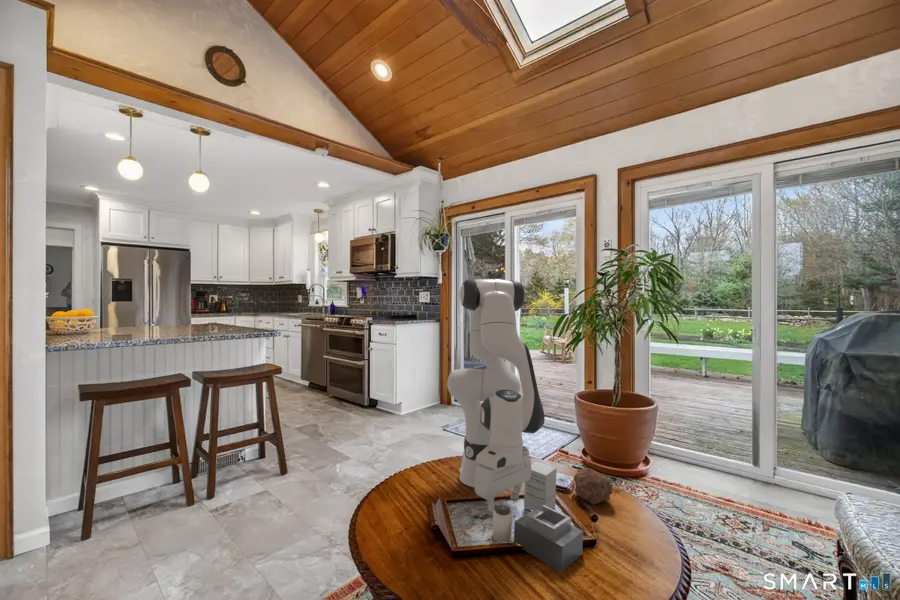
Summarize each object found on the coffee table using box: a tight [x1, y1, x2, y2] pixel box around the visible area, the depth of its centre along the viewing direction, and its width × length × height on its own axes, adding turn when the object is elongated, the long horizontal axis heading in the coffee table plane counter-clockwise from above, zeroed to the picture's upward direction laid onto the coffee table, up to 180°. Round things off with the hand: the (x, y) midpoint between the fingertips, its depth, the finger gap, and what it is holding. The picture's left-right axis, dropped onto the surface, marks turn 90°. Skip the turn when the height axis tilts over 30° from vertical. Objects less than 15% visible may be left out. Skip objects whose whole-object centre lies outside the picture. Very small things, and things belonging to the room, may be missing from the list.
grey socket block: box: [513, 505, 584, 573], centre depth 103 cm, size 13×14×8 cm
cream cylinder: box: [491, 503, 513, 543], centre depth 106 cm, size 5×5×8 cm
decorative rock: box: [573, 467, 614, 505], centre depth 129 cm, size 13×11×10 cm
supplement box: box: [523, 461, 557, 511], centre depth 122 cm, size 7×7×13 cm
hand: (503, 504), depth 106 cm, fingers open, 8 cm apart
